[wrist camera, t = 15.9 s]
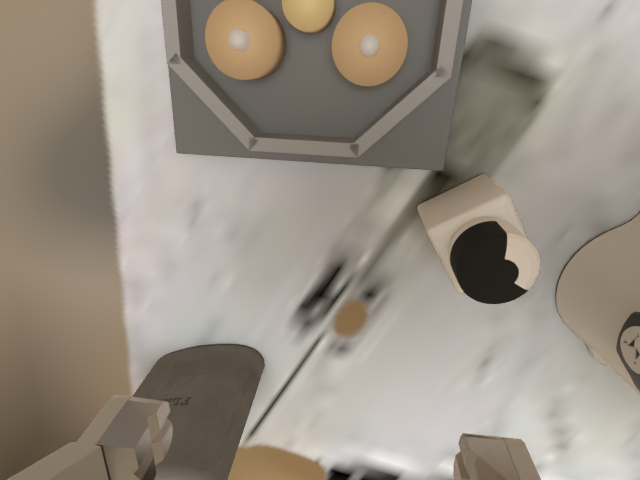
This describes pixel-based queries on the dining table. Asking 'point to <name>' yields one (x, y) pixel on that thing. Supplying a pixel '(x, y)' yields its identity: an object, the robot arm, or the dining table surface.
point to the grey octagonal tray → (316, 78)
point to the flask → (204, 407)
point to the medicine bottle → (481, 241)
